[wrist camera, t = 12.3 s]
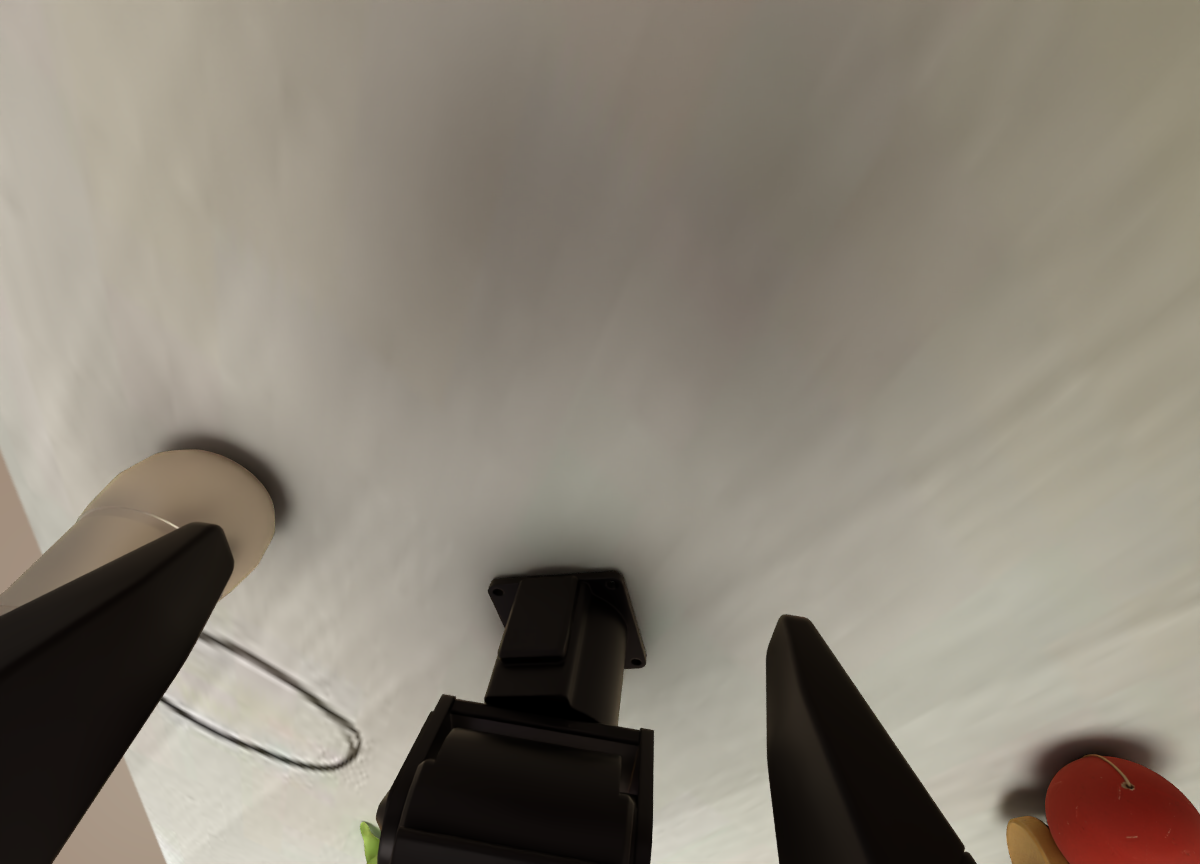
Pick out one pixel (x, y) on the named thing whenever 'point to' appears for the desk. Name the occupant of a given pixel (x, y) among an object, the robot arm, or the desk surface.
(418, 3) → the desk surface
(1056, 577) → the desk surface
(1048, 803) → the kendama
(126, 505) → the plastic bottle
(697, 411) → the desk surface
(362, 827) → the green eared figurine
